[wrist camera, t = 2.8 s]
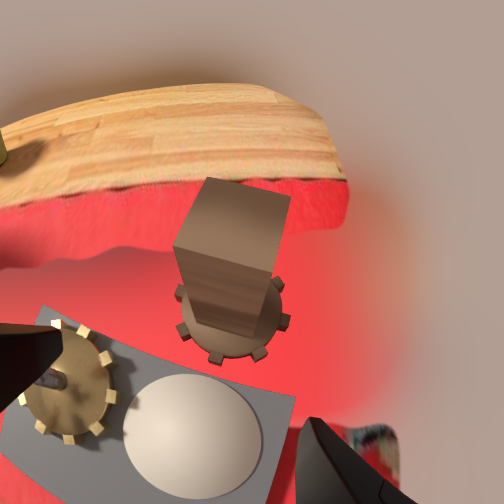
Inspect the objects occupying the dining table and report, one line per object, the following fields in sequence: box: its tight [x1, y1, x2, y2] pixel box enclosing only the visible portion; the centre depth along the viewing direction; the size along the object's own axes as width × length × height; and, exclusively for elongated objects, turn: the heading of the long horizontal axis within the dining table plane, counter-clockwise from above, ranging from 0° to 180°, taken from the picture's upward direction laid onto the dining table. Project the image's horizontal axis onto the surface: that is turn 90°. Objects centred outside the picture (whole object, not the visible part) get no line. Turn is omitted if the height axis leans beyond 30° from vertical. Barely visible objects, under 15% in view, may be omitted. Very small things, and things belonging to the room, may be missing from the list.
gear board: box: [0, 304, 296, 504], centre depth 16 cm, size 16×23×2 cm
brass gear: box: [18, 319, 123, 445], centre depth 15 cm, size 10×10×4 cm
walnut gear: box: [172, 177, 291, 366], centre depth 18 cm, size 9×9×12 cm
